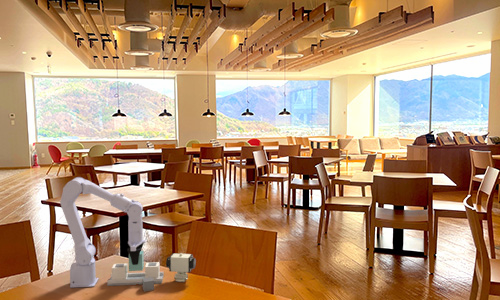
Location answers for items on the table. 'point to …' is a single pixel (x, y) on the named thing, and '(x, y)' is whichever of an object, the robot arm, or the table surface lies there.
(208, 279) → the table surface
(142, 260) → the block
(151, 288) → the dark loose block
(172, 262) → the pneumatic valve
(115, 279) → the board
